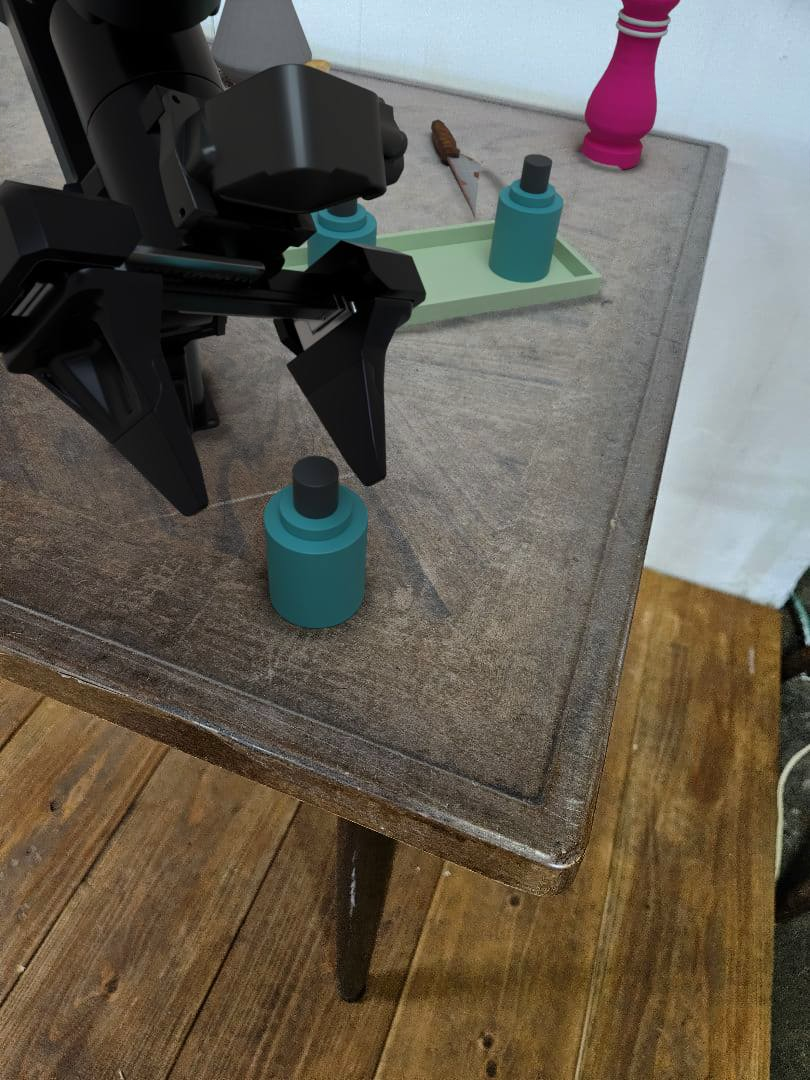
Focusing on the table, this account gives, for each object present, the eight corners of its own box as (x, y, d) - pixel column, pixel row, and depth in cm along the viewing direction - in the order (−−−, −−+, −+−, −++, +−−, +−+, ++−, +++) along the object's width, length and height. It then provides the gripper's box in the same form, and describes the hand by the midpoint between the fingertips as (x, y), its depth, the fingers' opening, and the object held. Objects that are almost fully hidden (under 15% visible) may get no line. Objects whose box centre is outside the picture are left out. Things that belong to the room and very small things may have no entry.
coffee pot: (310, 64, 102) (308, -85, 91) (314, 100, 94) (312, -60, 83) (132, 58, 99) (107, -97, 88) (120, 94, 91) (92, -72, 80)
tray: (266, 271, 68) (264, 248, 66) (534, 234, 75) (538, 213, 74) (306, 346, 61) (306, 323, 60) (597, 298, 69) (603, 276, 67)
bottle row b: (300, 281, 66) (296, 168, 60) (360, 272, 68) (364, 162, 61) (320, 315, 63) (319, 200, 57) (383, 305, 65) (389, 192, 58)
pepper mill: (562, 151, 89) (608, -76, 74) (608, 139, 92) (661, -81, 77) (610, 177, 85) (669, -56, 70) (656, 163, 88) (722, -62, 74)
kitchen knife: (525, 220, 76) (474, 215, 75) (519, 237, 77) (469, 232, 76) (474, 121, 89) (430, 115, 88) (470, 136, 90) (426, 131, 89)
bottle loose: (258, 568, 46) (247, 446, 40) (346, 546, 48) (349, 426, 41) (285, 639, 43) (277, 520, 37) (377, 614, 45) (386, 495, 38)
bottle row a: (478, 255, 71) (493, 149, 65) (531, 248, 73) (551, 143, 66) (505, 286, 68) (524, 177, 61) (559, 278, 70) (584, 170, 63)
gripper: (8, -173, 20) (221, 416, 19) (450, 54, 34) (589, 396, 33) (-127, 123, 27) (20, 567, 26) (287, 209, 41) (395, 496, 40)
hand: (297, 495), depth 31 cm, fingers open, 9 cm apart
